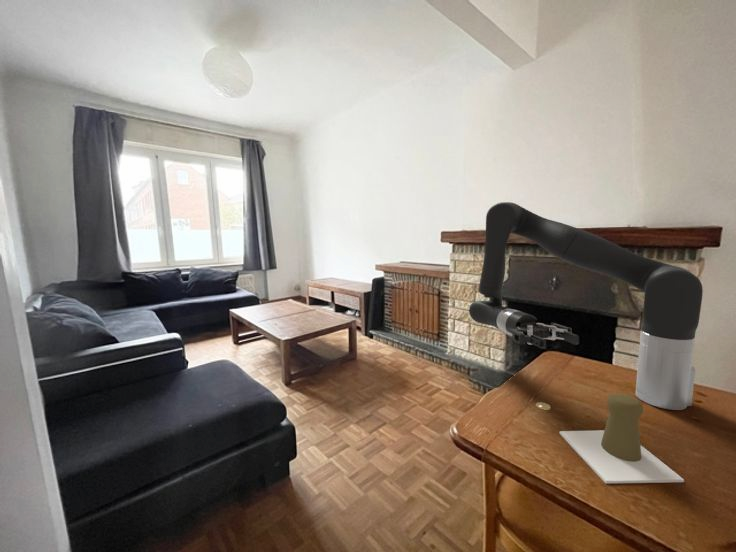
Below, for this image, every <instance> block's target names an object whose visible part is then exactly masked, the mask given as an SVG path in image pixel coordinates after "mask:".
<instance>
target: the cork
mask: <svg viewBox="0 0 736 552" xmlns="http://www.w3.org/2000/svg"><path fill="white" fill-rule="evenodd" d="M639 400H640V399H638V398H636V397H633V396H631V395H629V394H627V393H621V392H619V393H617V392H614V393H611V394H610V395H608V397H607V400H606V406H607V409H609V413H608V415H607V419H606V424H605V428H604V430H605V431H604V434H603V438H602V442H601V446H602V448H603V449H604V450H605V451H606V452H608V453H609V454H611V455H612V456H614V457H616V458H619V459H622V460H625V461H630V462H636V461H639V460H641V458H642V457H641V446H642V445H641V436H640V425H639V419H640V418H641V416H642V415H643V414H644V413H643V412H644V407H643V404H642V402H641V400H640V401H639ZM640 445H641V446H640Z"/></svg>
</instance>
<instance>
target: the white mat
mask: <svg viewBox="0 0 736 552" xmlns="http://www.w3.org/2000/svg"><path fill="white" fill-rule="evenodd" d="M604 431H605V429H603V430H601V429H599V430H559V435H560V436H561V437H562V438H563V439H564V440H565V441H566V442H567V443H568V444H569V445H570V447H571V448H572V449H573V450H574V451H575V453H577V455H578V456H579V457H580V458H581V459H583V461H584V462H585V463H586V464H587V465H588V466H589V467H590V468H591V469H592V470H593V472H594V473H595V474H596V475H597V476H598V477H599V478H600V479H601V481H603V483H604V484H648V483H650V484H651V483H655V484H656V483H662V484H663V483H684V482H685V479H684V478H682V476H681V475H679V474H678V473H677V472H676V471H674V470H673V469H672V468H670V467H669V466H668V465H666V464H665V463H664V462H663V461H662V460H660V459H659V458H658V457H657V456H655V455H654V454H653V453H651V452H650V451H649V450H647V449H646V448H645V447H644V446H643V445H642V444H640V446H641V457H642V458H641V460H639V461H636V462H630V461H625V460H622V459H619V458H616V457H614V456H612V455H611V454H609V453H608V452H606V451H605V450H604V449H603V448H602V446H601V442H602V438H603V434H604Z"/></svg>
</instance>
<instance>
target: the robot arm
mask: <svg viewBox="0 0 736 552" xmlns="http://www.w3.org/2000/svg"><path fill="white" fill-rule="evenodd" d="M511 234H513V235H517V236H520V237H523V238H525V239H528V240H530V241H532V242H534V243H535V244H537V245H538V246H539V247H541V248H542V249H543V250H545V251H546V252H548V253H549V254H551V255H552V256H554V257H556V258H558V259H560V260H562V261H564V262H566V263H568V264H571V265H573V266H575V267H578V268H581V269H584V270H587V271H591V272H594V273H598V274H601V275H606V276H609V277H612V278H615V279H618V280H620V281H623V282H624V283H626V284H628V285H630V286H632V287H635V288H636V289H638V290H640V291H642V292H644V299H643V301H644V302H643V310H642V318H641V326H640V337H639V347H638V348H639V349H638V359H637V371H636V381H635V382H636V383H635V396H636V397H637V399H638V400H640V401H643V402H644V403H646V404H648V405H651V406H654V407H656V408H661V409H666V410H670V411H671V410H672V411H683V410H685V409H687V407H691V406H692V403H693V395H694V394H693V393H694V385H695V376H696V368H695V367H693V366H692V364H693V357H694V356H693V355H694V346H695V338H696V332H697V329H698V326H699V322H700V315H701V310H702V309H701V308H702V301H703V293H704V292H703V291H704V290H703V285H702V282H701V280H700V279H699V278H698V277H697V276H696V275H695V274H693V273H692V272H691V271H689V269H688V270H687V269H686V268H683V267H681V266H676V265H672V264H668V263H665V262H664V263H663V262H661V261H658V260H656V259H655V260H654V259H651V258H648V257H645V256H641V255H638V254H637V253H634V252H631V251H629V250H628V249H626V248H624V247H622V246H620V245H618V244H616V243H614V242H612V241H611V240H610V241H609V240H608V239H605V238H603V237H601V236H599V235H597V234H593V233H591V232H589V231H586V230H584V229H581V228H578V227H576V226H575V227H574V226H572V225H569V224H566V223H564V222H563V223H562V222H559V221H555V220H552V219H548V218H546V217H542V216H540V215H538V214H536V213H534V212H532V211H531V210H528V209H526V208H524V207H523V206H520V205H519V204H518V203H514V202H511V201H509V202H508V201H505V202H498V203H495V204H493V205H491V206H490V208H489V209H488V211H487V212H486V216H485V242H484V243H485V244H484V245H485V246H484V255H483V264H482V269H481V275H480V279H479V280H480V281H479V284H478V292H479V293H480V295H483V296H485V297H489V299H488V300H476V301H473V302H471V304H470V305H469V308H468V313H469V316H470V318H471V319H472V320H473V321H474V322H476V323H478V324H482V325H486V326H492V327H493V328H496V329H498V330H499V331H501V332H503V333H505V334H507V337H508V339H510V340H511V341H514V342H516V343H517V344H519V345H525V344H526V343H527V344H528V345H531V346H532V345H534V346H535V347H537V348H539V349H541V350H543V349H544V350H545V349H547V340H551V341H555V340H563V341H565V342H568V343H570V344H572V345H579V344H580V336H579V335H578V334H576V333H575V334H574V333H573V332H572V328H571V327H568V326H565V325H561V324H558V323H556V322H551V323H550V325H549V324H545V323H542V322H540V321H539V320H538V319H537V318H536V317H535V316H534V315H533V314H529V313H526V312H524V311H520V310H517V309H513V308H509V307H506V306H503V294H502V289H503V286H504V280H505V274H506V250H507V246H508V245H507V244H508V241H509V238H510V235H511ZM550 333H552V334H551V335H550Z"/></svg>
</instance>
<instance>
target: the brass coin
mask: <svg viewBox="0 0 736 552" xmlns="http://www.w3.org/2000/svg"><path fill="white" fill-rule="evenodd" d="M535 406H536V407H537V408H539V409H541V410H545V411H548V410H549V411H550V410H551V408H552V407H551V405H550V404H548V403H545V402H543V401H539V402H536V403H535Z"/></svg>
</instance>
